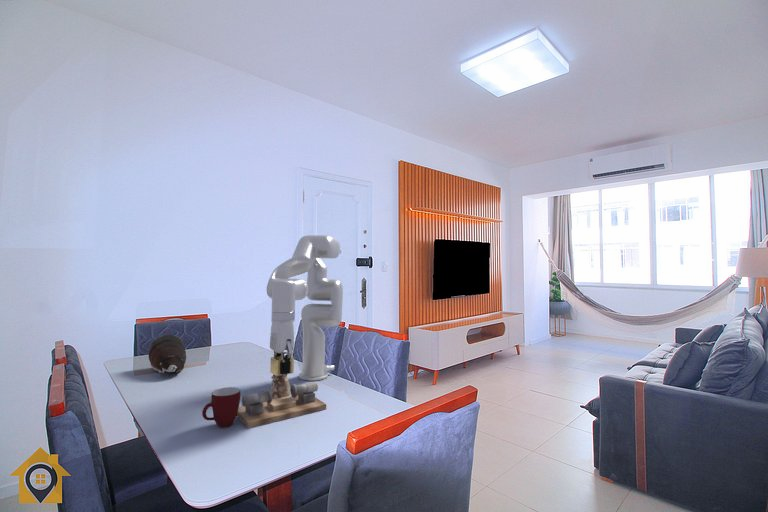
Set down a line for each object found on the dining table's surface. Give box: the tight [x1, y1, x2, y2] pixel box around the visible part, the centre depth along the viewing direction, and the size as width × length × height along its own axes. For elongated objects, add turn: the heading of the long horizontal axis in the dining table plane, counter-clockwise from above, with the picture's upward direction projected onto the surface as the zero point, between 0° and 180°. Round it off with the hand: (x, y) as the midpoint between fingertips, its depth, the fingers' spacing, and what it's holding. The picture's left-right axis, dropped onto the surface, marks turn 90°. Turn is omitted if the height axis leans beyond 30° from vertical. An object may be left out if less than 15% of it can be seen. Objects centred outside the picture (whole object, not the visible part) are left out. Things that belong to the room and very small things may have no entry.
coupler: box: [269, 354, 295, 376], centre depth 124 cm, size 6×5×5 cm
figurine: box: [270, 374, 291, 400], centre depth 138 cm, size 7×7×12 cm
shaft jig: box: [236, 381, 327, 429], centre depth 124 cm, size 26×14×8 cm, turn 127°
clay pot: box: [148, 334, 187, 376], centre depth 166 cm, size 15×15×25 cm
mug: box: [201, 386, 241, 429], centre depth 112 cm, size 10×8×10 cm
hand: (281, 371), depth 124 cm, fingers closed on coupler, 5 cm apart
